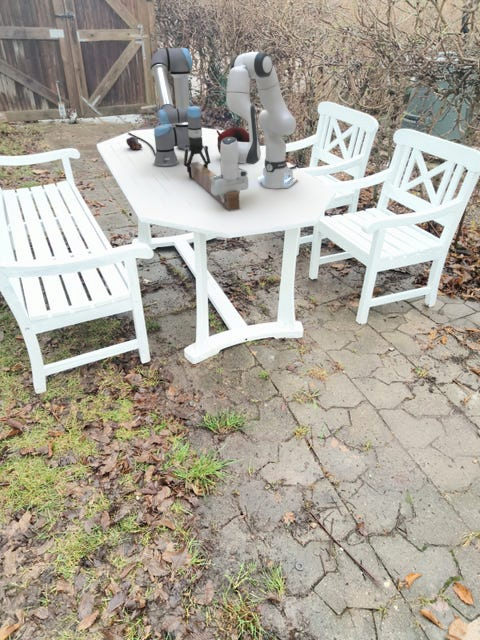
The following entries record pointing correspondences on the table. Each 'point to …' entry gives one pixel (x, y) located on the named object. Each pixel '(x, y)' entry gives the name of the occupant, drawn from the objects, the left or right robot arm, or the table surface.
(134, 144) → the rock
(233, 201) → the bar
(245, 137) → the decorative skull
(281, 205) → the table surface
